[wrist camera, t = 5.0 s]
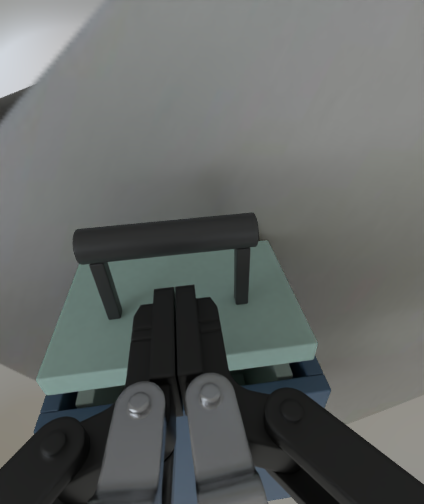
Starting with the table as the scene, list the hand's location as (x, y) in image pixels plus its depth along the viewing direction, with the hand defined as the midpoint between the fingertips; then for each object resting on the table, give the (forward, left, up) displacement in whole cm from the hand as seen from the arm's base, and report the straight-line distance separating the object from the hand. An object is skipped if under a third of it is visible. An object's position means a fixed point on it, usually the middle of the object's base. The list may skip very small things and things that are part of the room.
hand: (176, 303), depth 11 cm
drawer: (0, -7, -7) cm, 10 cm away
